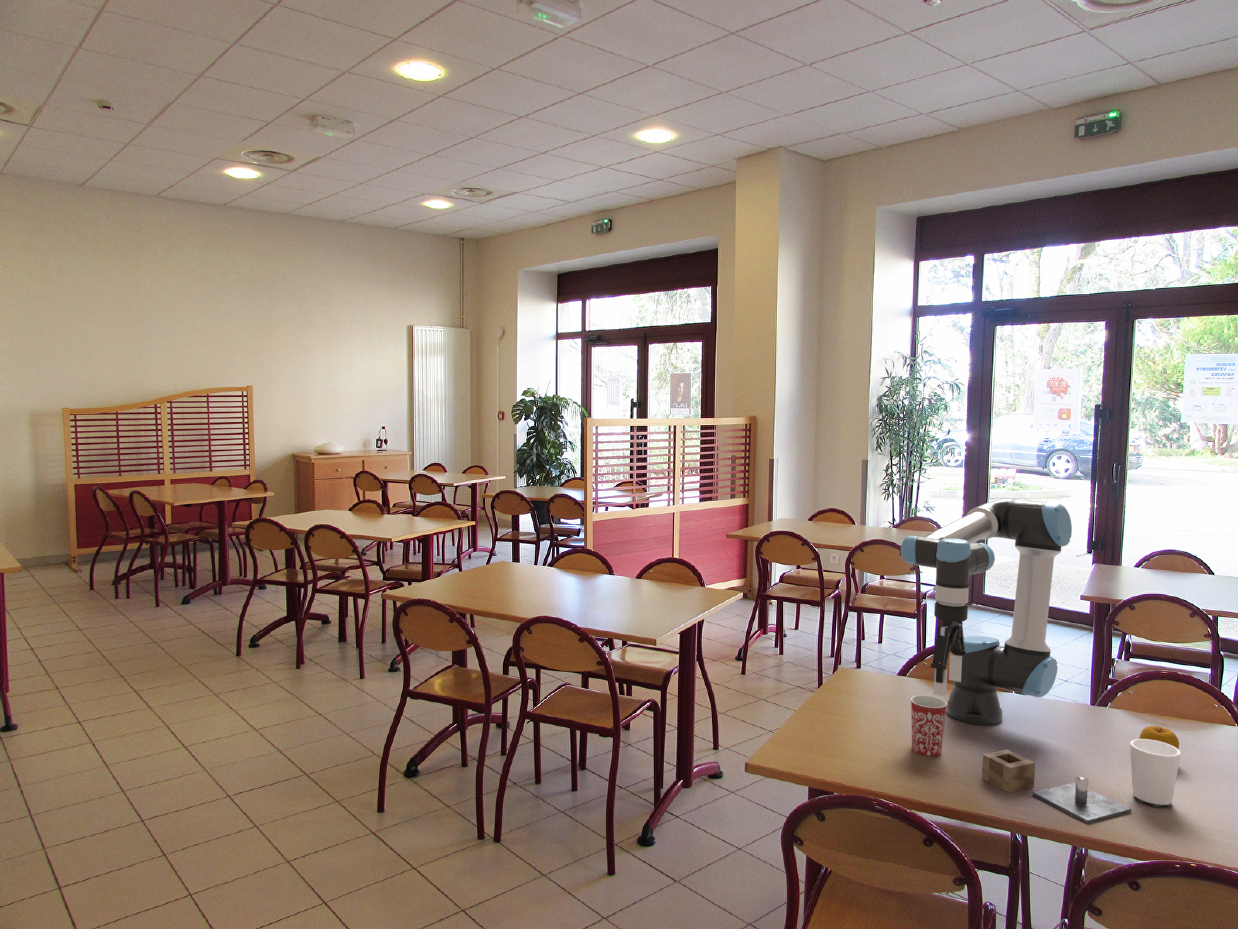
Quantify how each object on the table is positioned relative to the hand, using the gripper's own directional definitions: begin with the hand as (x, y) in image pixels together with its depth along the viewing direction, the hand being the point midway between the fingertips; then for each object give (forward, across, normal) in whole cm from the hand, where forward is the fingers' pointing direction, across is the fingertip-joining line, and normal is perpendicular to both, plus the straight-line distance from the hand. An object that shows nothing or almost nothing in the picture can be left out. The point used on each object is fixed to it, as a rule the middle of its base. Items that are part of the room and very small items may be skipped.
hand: (947, 687), depth 200 cm
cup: (+22, -15, +42) cm, 50 cm away
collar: (+21, -4, +14) cm, 26 cm away
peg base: (+21, -2, +30) cm, 36 cm away
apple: (+21, -42, +42) cm, 63 cm away
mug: (+22, -12, -8) cm, 26 cm away
